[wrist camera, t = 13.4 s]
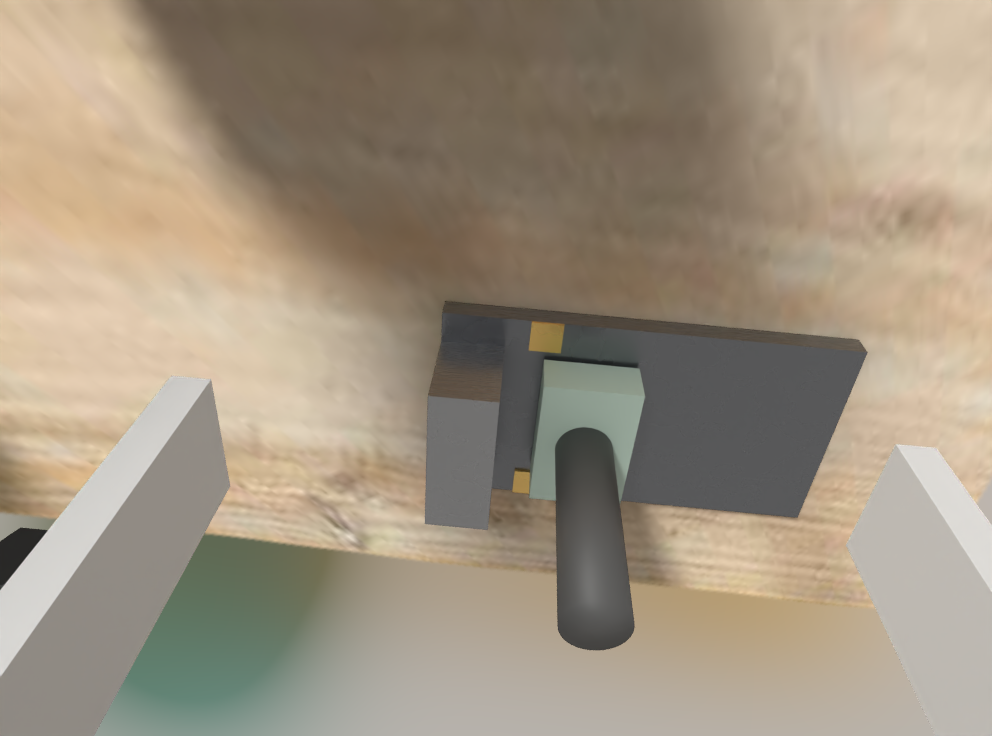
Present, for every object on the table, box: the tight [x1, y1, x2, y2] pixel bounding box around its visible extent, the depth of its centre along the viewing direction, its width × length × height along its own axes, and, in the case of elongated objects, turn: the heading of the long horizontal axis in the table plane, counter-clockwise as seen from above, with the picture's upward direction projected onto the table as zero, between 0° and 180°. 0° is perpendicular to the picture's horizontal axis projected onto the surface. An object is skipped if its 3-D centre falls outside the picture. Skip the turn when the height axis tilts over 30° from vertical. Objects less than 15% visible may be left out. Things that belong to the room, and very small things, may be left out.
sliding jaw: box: [529, 360, 645, 650], centre depth 40 cm, size 6×9×16 cm, turn 176°
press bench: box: [425, 301, 867, 530], centre depth 45 cm, size 26×14×8 cm, turn 86°
